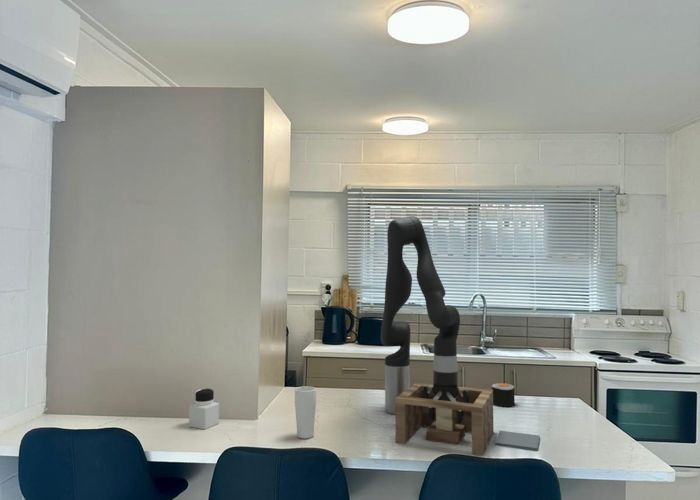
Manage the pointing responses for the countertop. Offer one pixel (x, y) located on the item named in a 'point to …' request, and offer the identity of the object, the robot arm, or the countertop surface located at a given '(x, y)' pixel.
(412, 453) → the countertop surface
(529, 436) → the grey mat
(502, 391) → the sushi
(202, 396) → the medicine bottle
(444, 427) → the maple block
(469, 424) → the frame
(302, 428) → the drinking glass
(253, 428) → the countertop surface
